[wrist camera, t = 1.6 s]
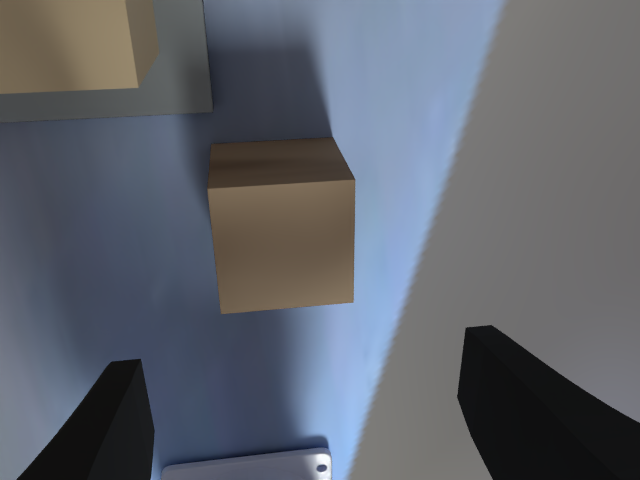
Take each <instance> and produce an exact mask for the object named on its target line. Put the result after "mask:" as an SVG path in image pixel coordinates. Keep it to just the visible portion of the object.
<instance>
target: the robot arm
mask: <svg viewBox="0 0 640 480" xmlns="http://www.w3.org/2000/svg"><path fill="white" fill-rule="evenodd" d="M457 398H458V401H459V404H460V406H461V409H462V412H463V415H464V418H465V421H466V423H467V426H468V429H469V432H470V434H471V437H472V439H473V441H474V443H475V445H476V447H477V449H478V451H479V453H480V455H481V457H482V459H483V461H484V463H485V465H486V467H487V469H488V471H489V473H490V475H491V477H492V479H493V480H640V423H639V422H637V421H635V420H633V419H631V418H629V417H628V416H626V415H624V414H622V413H620V412H619V411H617V410H615V409H614V408H612V407H610V406H609V405H607V404H605V403H604V402H602V401H601V400H599V399H597V398H596V397H594V396H593V395H591V394H589V393H588V392H586V391H585V390H583V389H581V388H580V387H579V386H577V385H575V384H574V383H572V382H571V381H569V380H568V379H567V378H565V377H564V376H562V375H561V374H559V373H558V372H556V371H555V370H554V369H552V368H550V367H549V366H548V365H546V364H545V363H544V362H542V361H541V360H539V359H538V358H537V357H535V356H534V355H533V354H531V353H530V352H528V351H527V350H526V349H524V348H523V347H522V346H520V345H519V344H517V343H516V342H514V341H513V340H512V339H511V338H509V337H508V336H506V335H505V334H503V333H502V332H501V331H499V330H498V329H496V328H495V327H493V326H492V325H488V326H478V327H467V328H466V330H465V339H464V346H463V354H462V363H461V370H460V379H459V388H458V395H457ZM153 445H154V425H153V420H152V415H151V410H150V404H149V399H148V394H147V389H146V384H145V378H144V373H143V368H142V363H141V359H135V360H124V361H114V362H111V363H110V364H109V365H108V366H107V367H106V368H105V370H104V371H103V373H102V374H101V375H100V377H99V378H98V380H97V381H96V382H95V384H94V385H93V387H92V388H91V389H90V391H89V392H88V394H87V395H86V396H85V398H84V399H83V400H82V402H81V403H80V404H79V406H78V407H77V408H76V410H75V411H74V412H73V413H72V415H71V416H70V417H69V419H68V420H67V421H66V422H65V424H64V425H63V426H62V427H61V429H60V430H59V431H58V433H57V434H56V435H55V436H54V437H53V439H52V440H51V441H50V442H49V443H48V445H47V446H46V447H45V448H44V449H43V450H42V451H41V453H40V454H39V455H38V456H37V457H36V458H35V460H34V461H33V462H32V463H31V464H30V465H29V466H28V468H27V469H26V470H25V471H24V472H23V473H22V474H21V475H20V476H19V477H18V478H17V479H16V480H150V478H151V470H152V459H153ZM321 464H324V465H321ZM318 465H321V466H318ZM161 480H332V457H331V453H330V451H329V450H328V449H327V448H312V449H304V450H295V451H287V452H278V453H270V454H261V455H253V456H244V457H236V458H227V459H219V460H210V461H202V462H193V463H185V464H176V465H170V466H167V467H165V468H164V469H163V470H162V475H161Z"/></svg>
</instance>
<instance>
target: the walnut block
mask: <svg viewBox="0 0 640 480" xmlns="http://www.w3.org/2000/svg"><path fill="white" fill-rule="evenodd" d="M207 190H208V199H209V208H210V218H211V227H212V236H213V245H214V255H215V264H216V273H217V282H218V291H219V301H220V310H221V314H228V313H240V312H251V311H262V310H274V309H285V308H296V307H308V306H319V305H330V304H342V303H353V300H354V232H355V178H354V176H353V174H352V172H351V171H350V169H349V167H348V165H347V163H346V161H345V159H344V157H343V155H342V154H341V152H340V150H339V148H338V146H337V144H336V142H335V140H334V138H333V137H327V138H309V139H291V140H273V141H255V142H237V143H218V144H211V153H210V164H209V176H208V188H207Z"/></svg>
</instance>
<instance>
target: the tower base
mask: <svg viewBox="0 0 640 480" xmlns="http://www.w3.org/2000/svg"><path fill="white" fill-rule="evenodd" d="M211 112H213V99H212V89H211V79H210V68H209V58H208V48H207V37H206V27H205V17H204V7H203V0H0V123H8V122H28V121H48V120H69V119H89V118H109V117H130V116H150V115H170V114H191V113H211Z"/></svg>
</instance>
